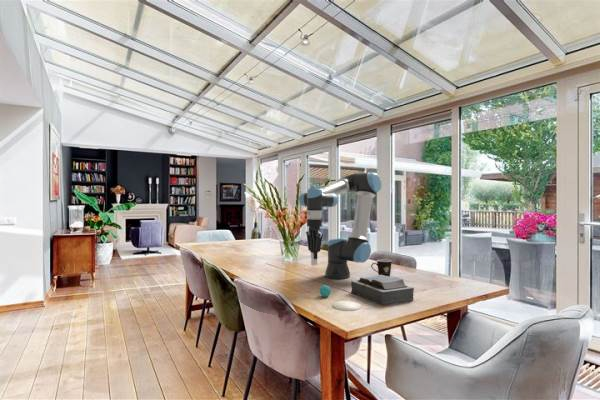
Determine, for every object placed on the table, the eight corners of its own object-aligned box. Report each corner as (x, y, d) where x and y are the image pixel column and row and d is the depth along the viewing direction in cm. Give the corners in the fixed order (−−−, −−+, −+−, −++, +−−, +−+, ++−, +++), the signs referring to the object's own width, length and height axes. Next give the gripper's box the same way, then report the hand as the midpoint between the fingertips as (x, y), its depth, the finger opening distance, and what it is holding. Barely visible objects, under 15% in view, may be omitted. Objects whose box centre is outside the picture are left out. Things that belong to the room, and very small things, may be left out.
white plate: (326, 304, 157) (326, 303, 157) (349, 300, 164) (349, 299, 164) (343, 312, 146) (343, 312, 146) (367, 307, 152) (367, 307, 152)
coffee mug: (392, 276, 213) (392, 259, 213) (391, 279, 205) (391, 262, 205) (372, 274, 217) (372, 258, 217) (371, 277, 209) (371, 261, 209)
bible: (372, 307, 154) (372, 285, 154) (347, 291, 180) (347, 272, 180) (418, 303, 160) (418, 281, 160) (387, 288, 186) (387, 270, 186)
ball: (317, 295, 170) (317, 284, 170) (326, 294, 173) (326, 283, 173) (323, 298, 166) (323, 287, 166) (332, 297, 168) (332, 285, 168)
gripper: (301, 218, 181) (301, 263, 181) (315, 219, 170) (314, 268, 170) (313, 218, 185) (313, 262, 185) (327, 219, 174) (327, 266, 174)
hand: (314, 265), depth 177 cm, fingers closed
